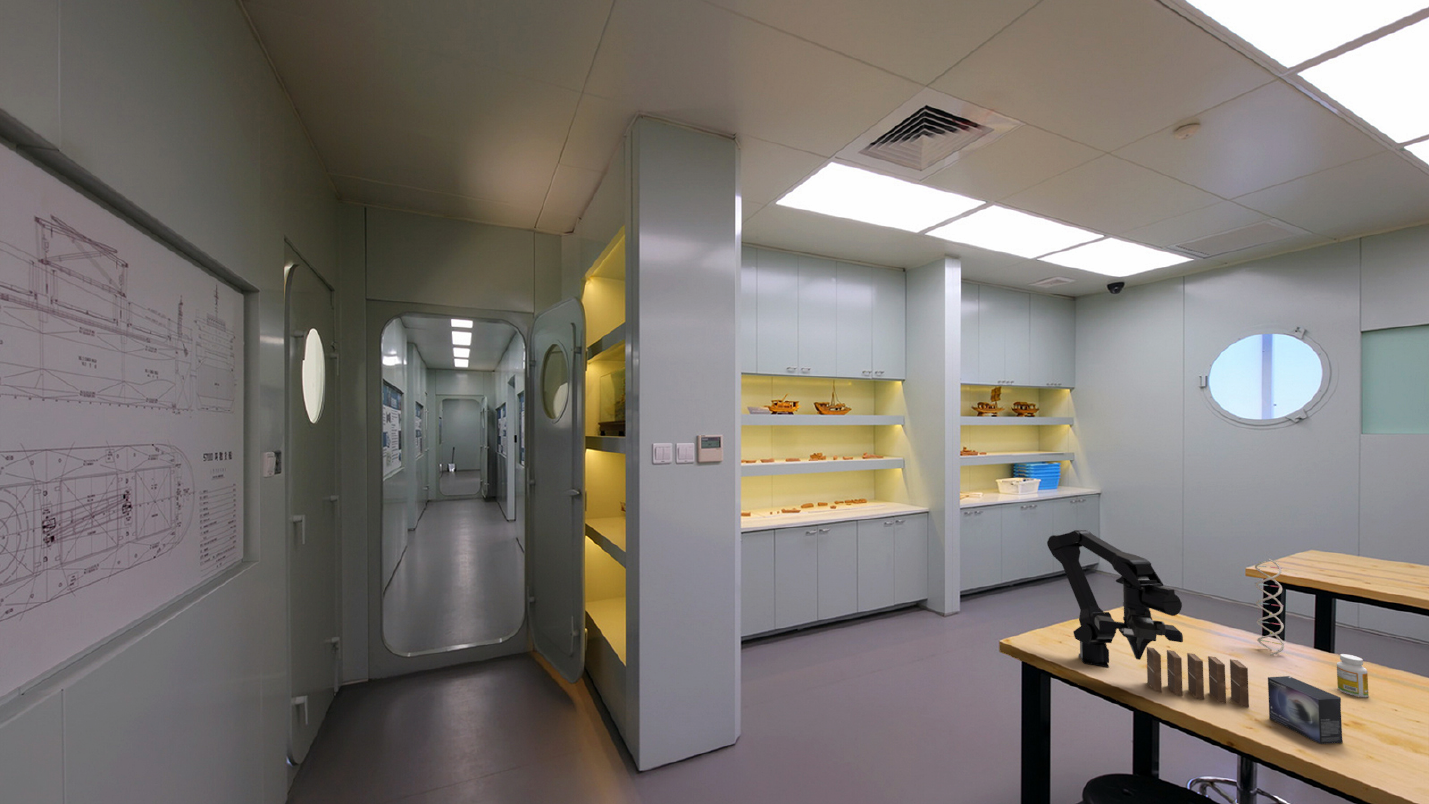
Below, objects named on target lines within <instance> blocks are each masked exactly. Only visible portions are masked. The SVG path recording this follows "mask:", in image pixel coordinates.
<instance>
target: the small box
mask: <svg viewBox="0 0 1429 804" xmlns="http://www.w3.org/2000/svg"><path fill="white" fill-rule="evenodd" d="M1267 690H1268V691H1267V693H1268V714H1269V716H1268V717H1269V718H1268V719H1270V720H1271V721H1273V722H1276V723H1277V724H1279V725H1282V726H1283V727H1285V728H1288V729H1290V730H1291V731H1293V732H1295V733H1297V734H1300V735H1302V736H1304V737H1306V738H1308V739H1309V740H1312V741H1313V742H1315V743H1318V744H1319V745H1326V744H1343V728H1342V727H1343V725H1342V724H1343V723H1342V707H1341V706H1342V705H1341V704H1342V698H1341V697H1340V696H1338V695H1336V694H1332V693H1331V692H1328V691H1326V690H1323V689H1321V688H1319V687H1316V686H1314V685H1311V684H1309V683H1306V682H1304V681H1301V680H1299V679H1297V678H1294V677H1293V676H1290V675H1286V676H1285V675H1283V676H1268V677H1267Z"/></svg>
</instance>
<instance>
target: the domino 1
mask: <svg viewBox="0 0 1429 804" xmlns="http://www.w3.org/2000/svg"><path fill="white" fill-rule="evenodd" d="M1146 675H1147V677H1146V678H1147V684H1148V685H1149V686H1150V687H1151V689H1152V690H1153V691H1154V692H1157V693H1158V692H1159V693H1162V692H1163V691H1162V690H1163V688H1162V687H1163V686H1162V655H1161V653H1159V652H1158V650H1156V649H1155V648H1154V647H1150V646H1146Z"/></svg>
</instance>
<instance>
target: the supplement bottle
mask: <svg viewBox="0 0 1429 804" xmlns="http://www.w3.org/2000/svg"><path fill="white" fill-rule="evenodd" d="M1339 659H1340V661H1338V662H1337V663H1336V678H1337V679H1336V680H1337V689H1338V691H1340V692H1342V693H1344V694H1347V695H1349V694H1350V695H1349V696H1353V695H1354V696H1353V697H1357V696H1359V698H1368V697H1369V679H1368V677H1369V675H1368V669H1367V668H1365V667H1364V666H1363V665H1364V660H1363V658H1362V657H1359V656H1356V655H1352V654H1345V653H1341V654H1339Z"/></svg>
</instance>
